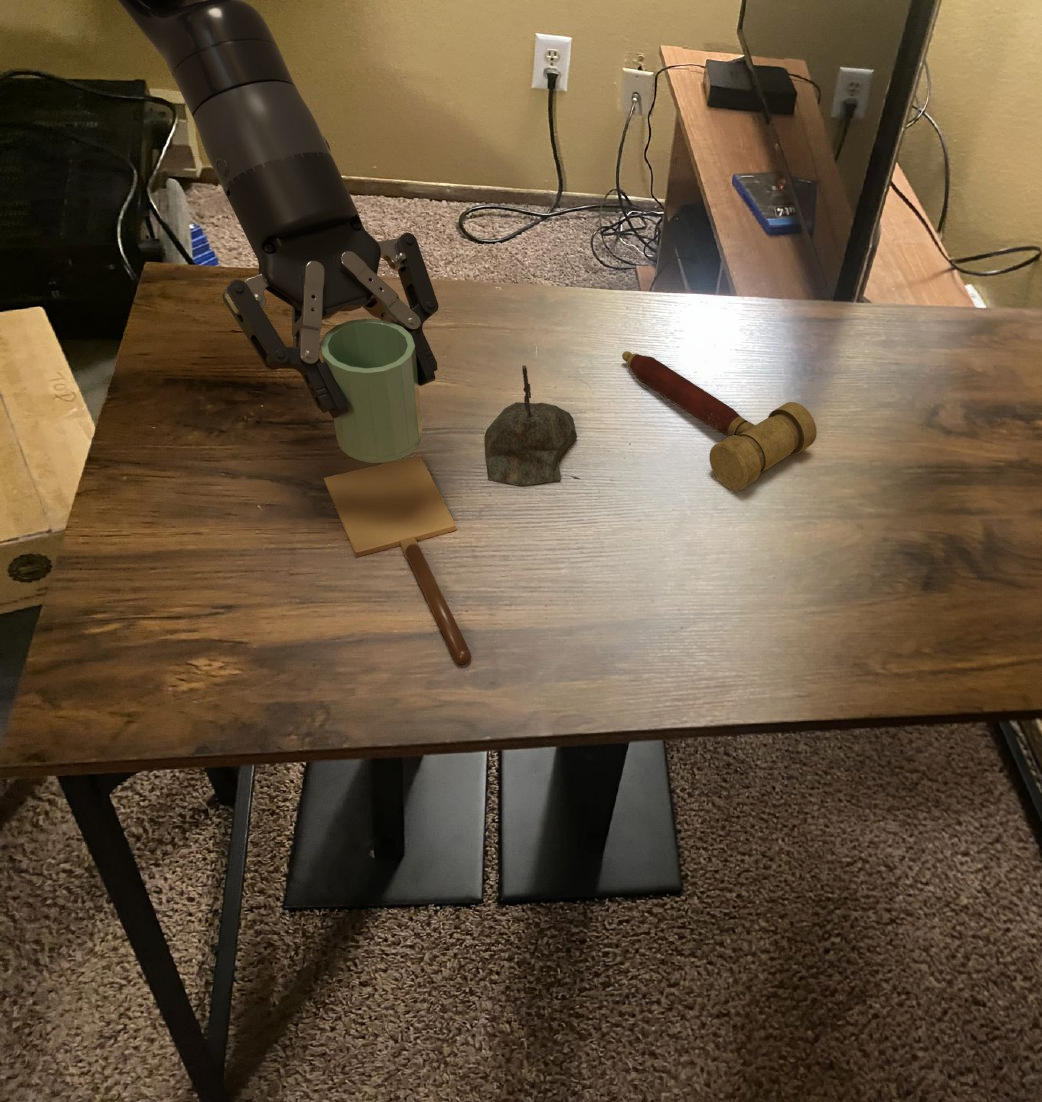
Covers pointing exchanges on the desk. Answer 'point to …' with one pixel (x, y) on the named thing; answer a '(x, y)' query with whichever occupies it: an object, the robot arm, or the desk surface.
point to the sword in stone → (528, 441)
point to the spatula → (398, 525)
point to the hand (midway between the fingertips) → (384, 398)
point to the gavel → (732, 425)
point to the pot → (375, 389)
